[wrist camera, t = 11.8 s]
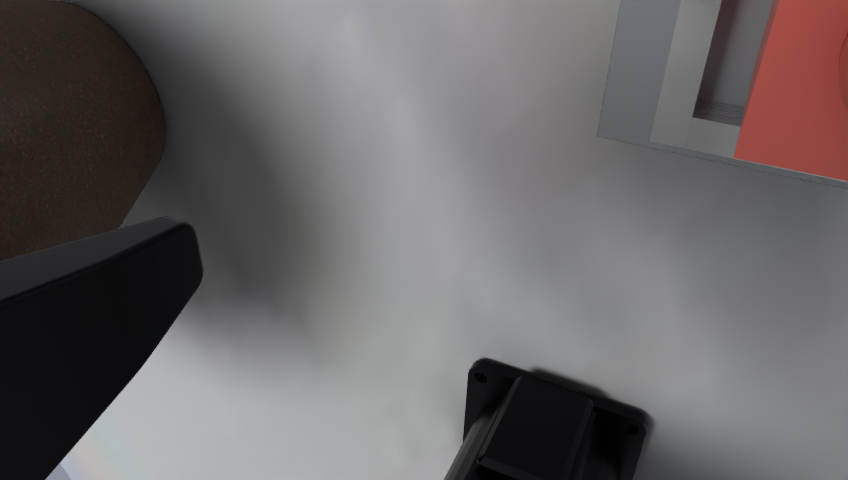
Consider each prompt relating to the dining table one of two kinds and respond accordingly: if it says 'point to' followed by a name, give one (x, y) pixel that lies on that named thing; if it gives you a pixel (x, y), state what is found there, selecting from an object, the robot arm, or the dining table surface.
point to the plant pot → (69, 126)
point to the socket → (696, 89)
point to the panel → (646, 63)
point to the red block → (800, 91)
